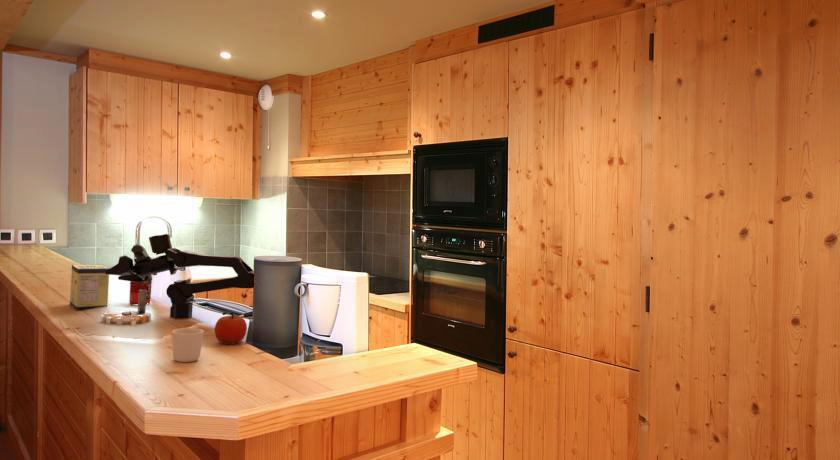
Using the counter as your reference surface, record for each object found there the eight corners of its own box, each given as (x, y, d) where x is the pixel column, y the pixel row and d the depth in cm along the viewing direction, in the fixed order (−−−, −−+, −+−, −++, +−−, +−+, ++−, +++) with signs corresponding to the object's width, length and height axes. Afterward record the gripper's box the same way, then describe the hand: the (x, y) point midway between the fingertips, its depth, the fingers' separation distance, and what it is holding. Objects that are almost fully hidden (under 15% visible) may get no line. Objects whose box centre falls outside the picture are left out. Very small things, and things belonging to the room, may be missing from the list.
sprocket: (158, 318, 203) (160, 290, 203) (135, 326, 188) (137, 295, 188) (117, 315, 204) (119, 286, 204) (91, 322, 189) (92, 292, 189)
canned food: (142, 305, 231) (143, 278, 231) (124, 303, 233) (126, 276, 233) (154, 303, 239) (156, 276, 239) (137, 301, 240) (139, 275, 240)
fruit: (253, 343, 180) (254, 311, 180) (228, 347, 172) (230, 314, 172) (231, 338, 185) (233, 306, 185) (207, 342, 177) (208, 310, 177)
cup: (179, 353, 162) (181, 325, 162) (208, 354, 163) (210, 326, 162) (165, 363, 151) (167, 332, 151) (197, 364, 152) (198, 334, 152)
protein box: (99, 303, 231) (101, 264, 231) (107, 309, 219) (110, 268, 219) (69, 304, 224) (71, 264, 224) (76, 311, 212) (78, 268, 212)
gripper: (164, 250, 218) (122, 260, 217) (141, 236, 200) (96, 247, 199) (167, 278, 215) (125, 288, 214) (145, 267, 197) (98, 278, 196)
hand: (112, 275), depth 206 cm, fingers open, 9 cm apart
